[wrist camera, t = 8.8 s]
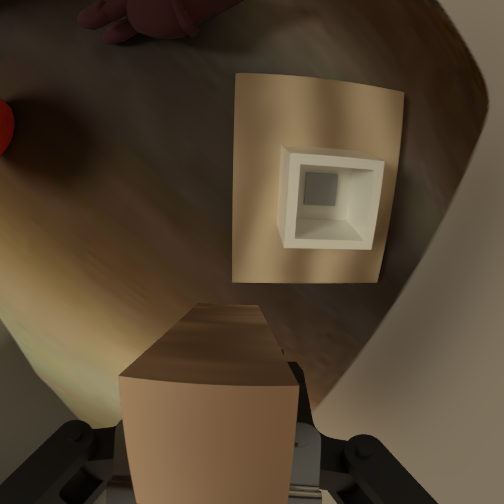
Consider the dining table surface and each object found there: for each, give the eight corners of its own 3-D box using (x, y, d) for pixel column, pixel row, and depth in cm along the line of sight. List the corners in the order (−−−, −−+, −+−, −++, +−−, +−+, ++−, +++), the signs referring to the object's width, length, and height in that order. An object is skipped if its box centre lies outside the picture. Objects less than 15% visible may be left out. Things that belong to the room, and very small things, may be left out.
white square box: (276, 223, 27) (283, 247, 23) (281, 145, 24) (290, 153, 20) (351, 226, 27) (371, 249, 23) (360, 151, 25) (384, 161, 20)
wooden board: (232, 276, 30) (232, 282, 29) (236, 74, 23) (235, 73, 22) (373, 277, 31) (377, 282, 30) (399, 92, 23) (404, 92, 22)
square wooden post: (197, 360, 17) (136, 503, 5) (198, 303, 17) (118, 375, 5) (256, 362, 17) (286, 512, 5) (258, 305, 17) (299, 385, 5)
